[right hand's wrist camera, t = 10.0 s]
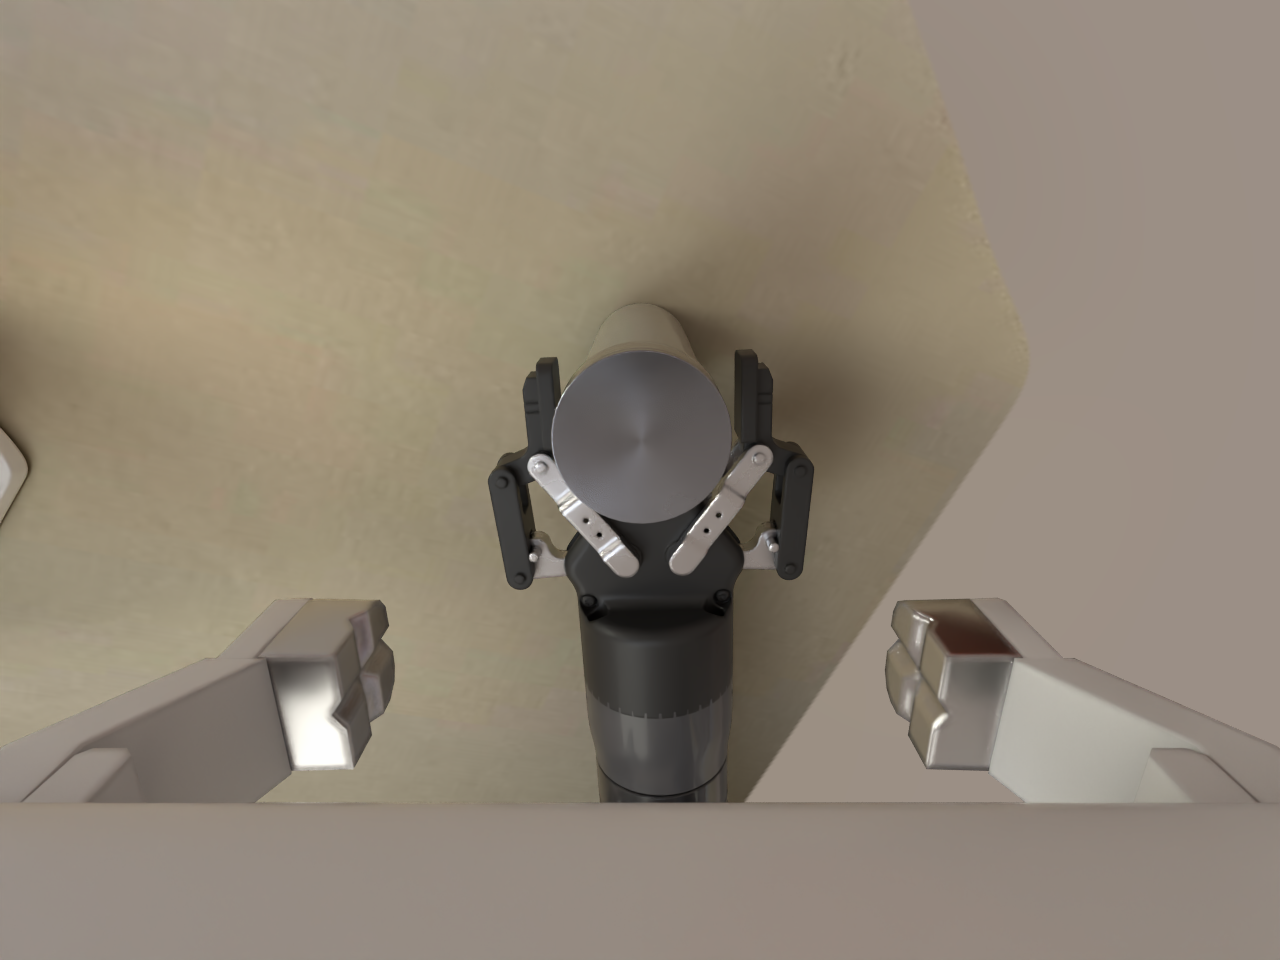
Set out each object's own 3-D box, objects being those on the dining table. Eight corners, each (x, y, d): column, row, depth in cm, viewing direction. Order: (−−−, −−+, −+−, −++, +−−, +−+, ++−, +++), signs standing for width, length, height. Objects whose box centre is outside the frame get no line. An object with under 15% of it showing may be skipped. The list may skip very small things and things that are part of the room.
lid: (727, 338, 21) (735, 348, 19) (723, 500, 23) (729, 523, 21) (552, 341, 21) (544, 351, 19) (562, 503, 23) (556, 525, 21)
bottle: (688, 301, 35) (724, 354, 20) (687, 396, 36) (720, 510, 21) (592, 303, 35) (555, 357, 20) (596, 398, 36) (565, 513, 21)
